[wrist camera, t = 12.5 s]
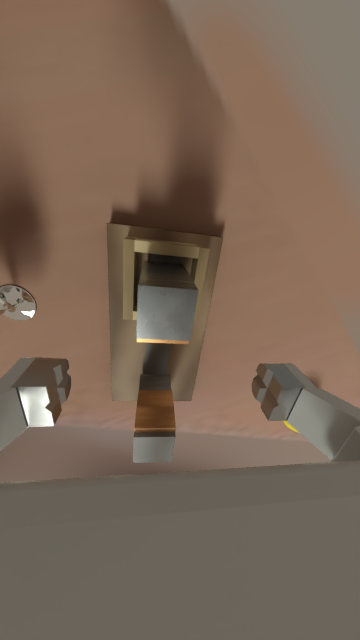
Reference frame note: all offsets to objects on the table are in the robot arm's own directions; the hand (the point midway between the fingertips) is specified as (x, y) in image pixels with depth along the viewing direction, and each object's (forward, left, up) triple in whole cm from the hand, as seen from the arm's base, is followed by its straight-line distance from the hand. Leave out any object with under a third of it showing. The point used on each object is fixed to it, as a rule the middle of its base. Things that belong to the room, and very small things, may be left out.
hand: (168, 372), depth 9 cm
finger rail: (0, -7, -18) cm, 19 cm away
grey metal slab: (0, 0, -15) cm, 15 cm away
